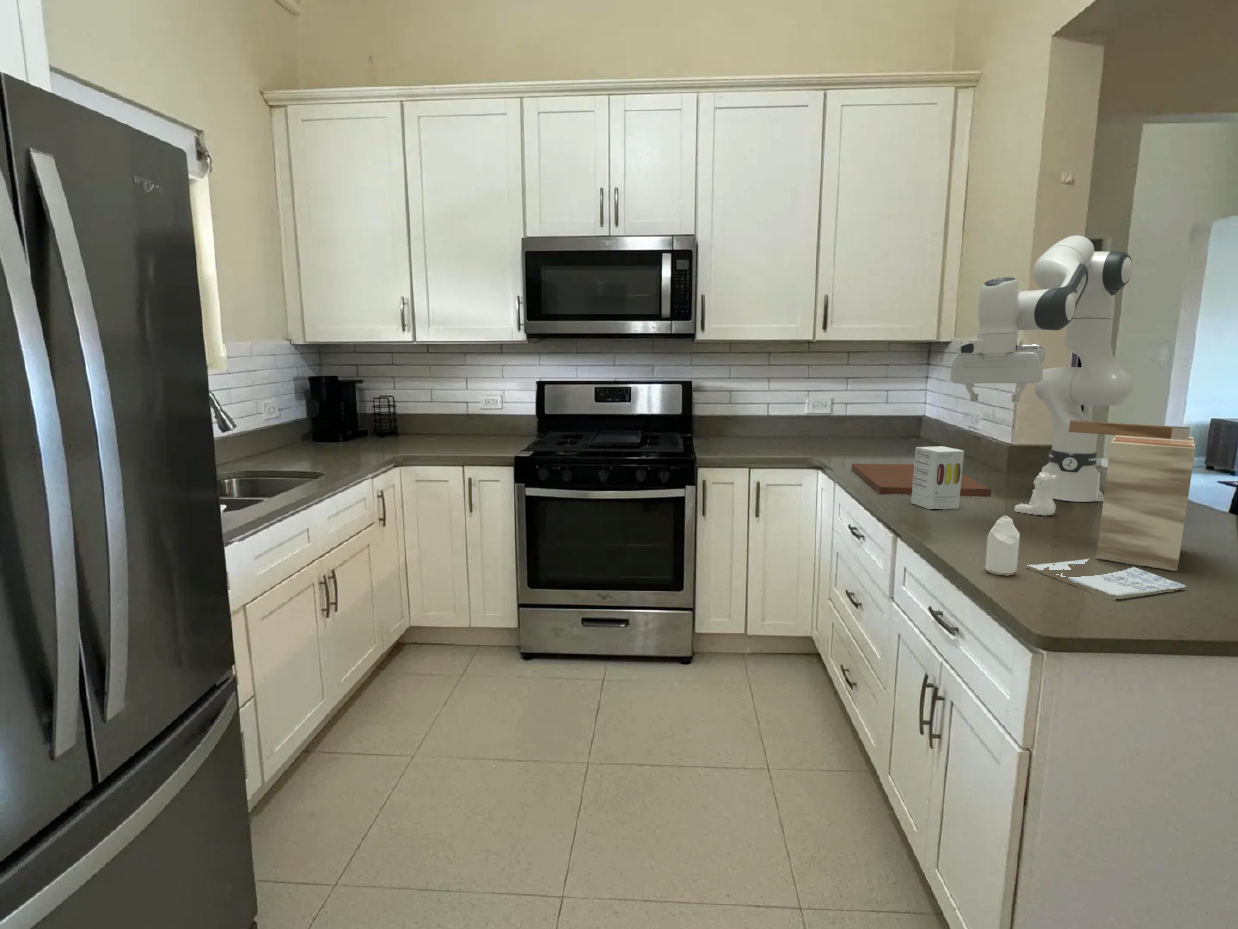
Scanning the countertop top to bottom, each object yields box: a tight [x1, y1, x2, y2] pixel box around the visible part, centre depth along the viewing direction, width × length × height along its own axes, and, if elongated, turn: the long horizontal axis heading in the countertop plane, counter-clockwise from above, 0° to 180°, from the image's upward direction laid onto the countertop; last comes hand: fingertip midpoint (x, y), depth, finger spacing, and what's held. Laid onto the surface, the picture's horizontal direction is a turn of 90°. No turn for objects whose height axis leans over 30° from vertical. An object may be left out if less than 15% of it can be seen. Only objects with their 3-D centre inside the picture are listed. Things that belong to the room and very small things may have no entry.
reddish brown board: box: [851, 463, 992, 498], centre depth 234 cm, size 40×3×33 cm
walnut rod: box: [1069, 420, 1191, 441], centre depth 159 cm, size 4×22×2 cm, turn 52°
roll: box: [985, 515, 1021, 573], centre depth 144 cm, size 6×12×6 cm
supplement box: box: [910, 445, 965, 510], centre depth 200 cm, size 10×9×17 cm
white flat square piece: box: [1026, 558, 1187, 596], centre depth 141 cm, size 19×20×2 cm
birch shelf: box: [1095, 435, 1196, 571], centre depth 154 cm, size 20×14×26 cm
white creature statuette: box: [1013, 471, 1057, 516], centre depth 191 cm, size 10×9×12 cm
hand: (994, 401), depth 175 cm, fingers open, 8 cm apart
